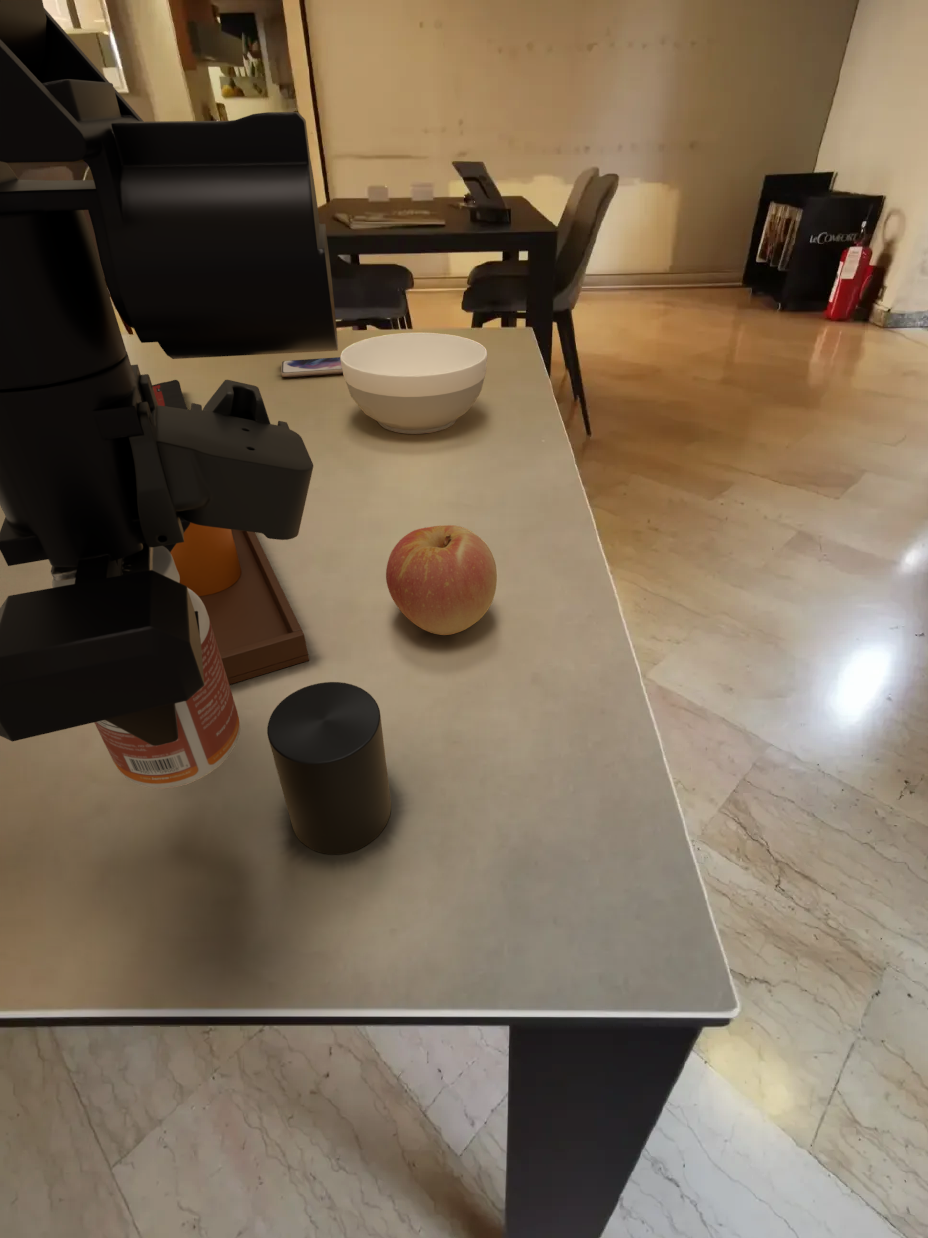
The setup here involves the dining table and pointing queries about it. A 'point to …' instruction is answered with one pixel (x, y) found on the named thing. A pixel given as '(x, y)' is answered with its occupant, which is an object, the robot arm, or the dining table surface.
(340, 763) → the charcoal tin
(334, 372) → the smartphone
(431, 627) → the apple
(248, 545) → the walnut tray
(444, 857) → the dining table surface
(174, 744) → the pill bottle
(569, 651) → the dining table surface
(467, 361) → the bowl
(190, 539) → the bottle
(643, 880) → the dining table surface
